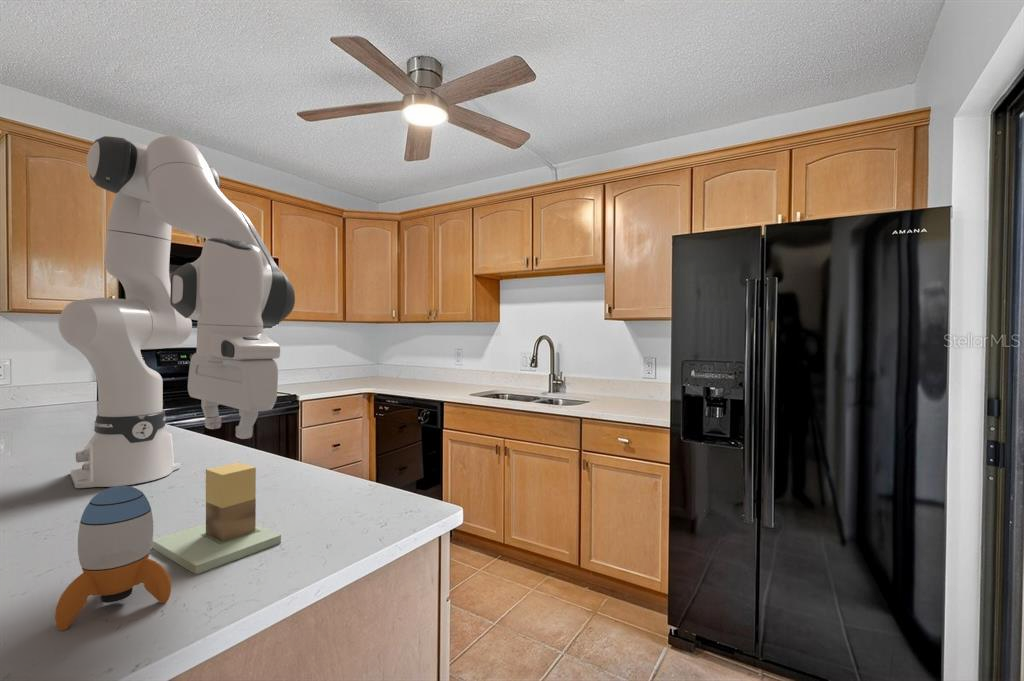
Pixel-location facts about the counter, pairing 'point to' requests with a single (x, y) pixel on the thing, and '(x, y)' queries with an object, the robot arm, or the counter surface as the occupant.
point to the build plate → (211, 547)
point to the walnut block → (230, 520)
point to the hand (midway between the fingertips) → (227, 432)
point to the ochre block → (230, 484)
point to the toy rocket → (113, 553)
